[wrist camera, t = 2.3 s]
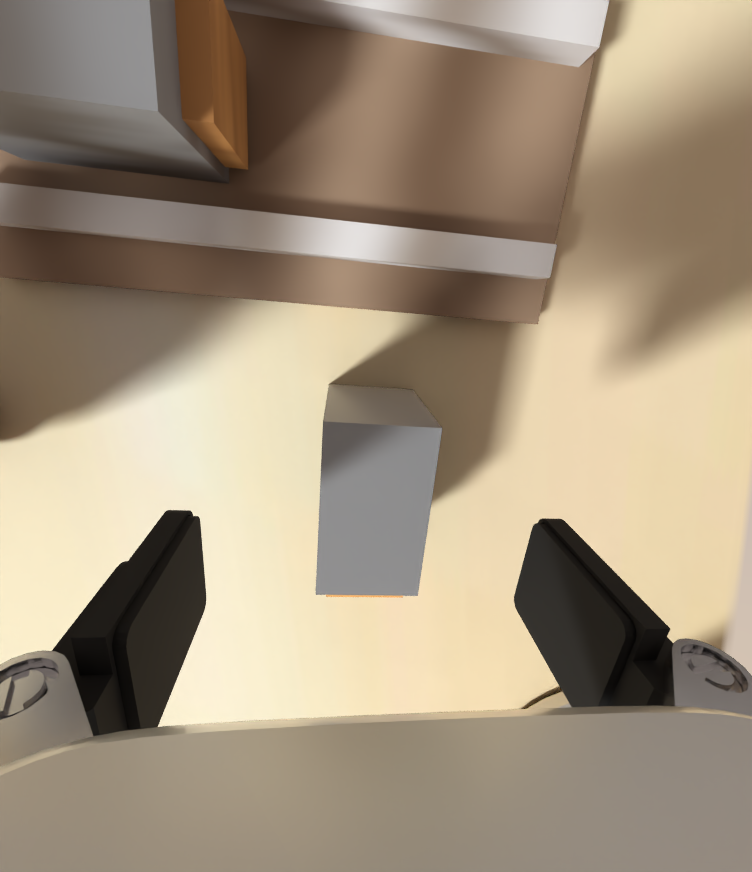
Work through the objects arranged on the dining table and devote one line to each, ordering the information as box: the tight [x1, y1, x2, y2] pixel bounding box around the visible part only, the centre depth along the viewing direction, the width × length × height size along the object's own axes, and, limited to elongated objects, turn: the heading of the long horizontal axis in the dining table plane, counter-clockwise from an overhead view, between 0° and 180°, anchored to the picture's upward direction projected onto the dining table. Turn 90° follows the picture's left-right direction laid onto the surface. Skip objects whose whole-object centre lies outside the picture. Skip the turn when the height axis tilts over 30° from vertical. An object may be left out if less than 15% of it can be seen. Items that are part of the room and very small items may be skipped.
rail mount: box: [0, 0, 609, 324], centre depth 12 cm, size 22×12×7 cm, turn 85°
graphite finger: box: [316, 384, 442, 597], centre depth 17 cm, size 4×8×6 cm, turn 175°
